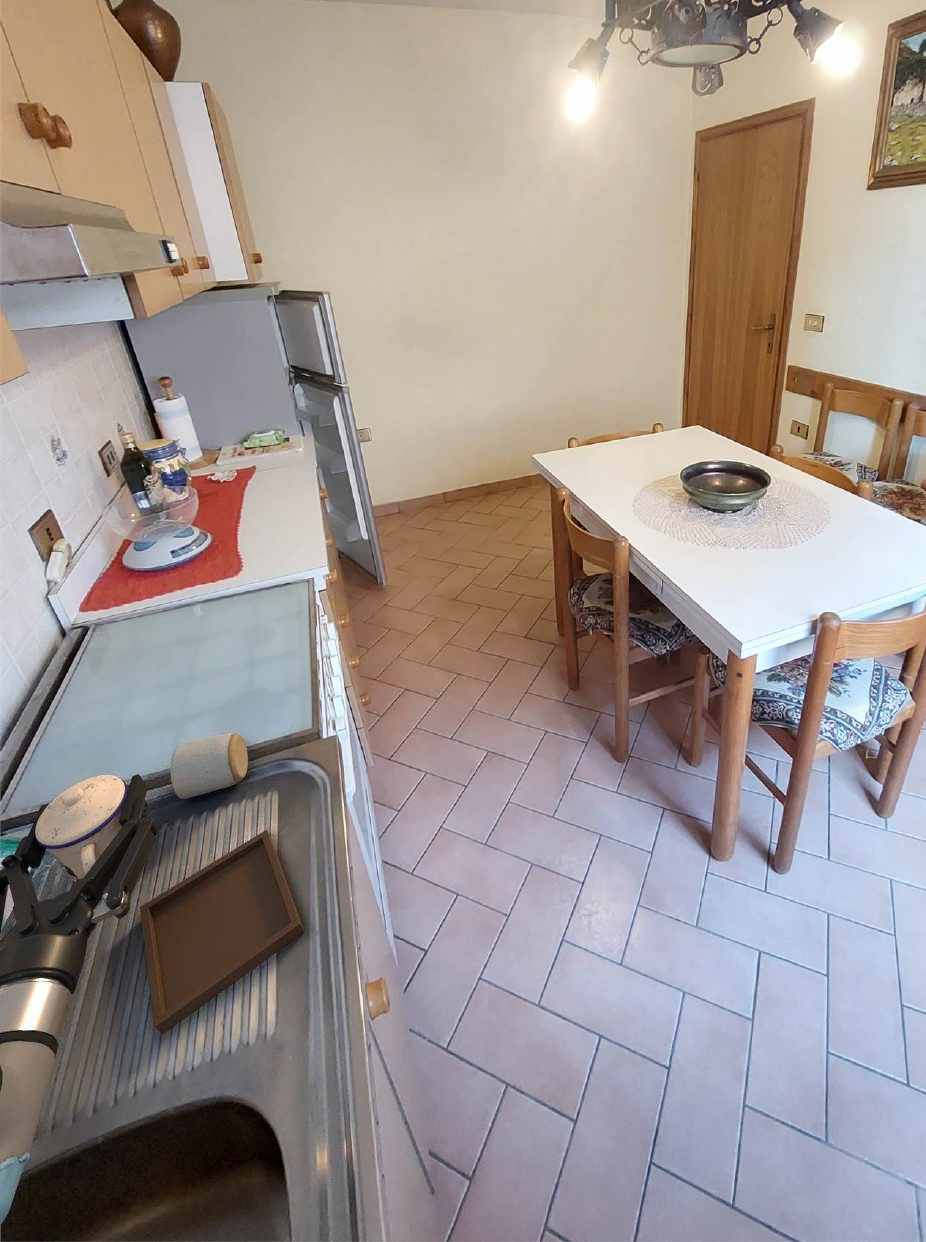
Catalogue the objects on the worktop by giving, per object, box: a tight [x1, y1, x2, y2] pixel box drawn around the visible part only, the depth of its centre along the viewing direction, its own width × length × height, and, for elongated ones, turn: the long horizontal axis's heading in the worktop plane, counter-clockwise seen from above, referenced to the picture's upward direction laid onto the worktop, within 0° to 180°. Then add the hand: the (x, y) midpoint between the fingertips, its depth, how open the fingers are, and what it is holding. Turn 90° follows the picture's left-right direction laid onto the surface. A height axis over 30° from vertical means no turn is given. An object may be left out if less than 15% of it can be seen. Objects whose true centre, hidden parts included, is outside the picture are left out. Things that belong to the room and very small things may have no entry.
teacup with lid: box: [35, 774, 129, 883], centre depth 69 cm, size 12×9×12 cm
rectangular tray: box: [139, 829, 305, 1035], centre depth 68 cm, size 15×15×2 cm
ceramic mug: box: [169, 732, 249, 800], centre depth 85 cm, size 11×8×8 cm
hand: (96, 796), depth 72 cm, fingers closed on teacup with lid, 9 cm apart
